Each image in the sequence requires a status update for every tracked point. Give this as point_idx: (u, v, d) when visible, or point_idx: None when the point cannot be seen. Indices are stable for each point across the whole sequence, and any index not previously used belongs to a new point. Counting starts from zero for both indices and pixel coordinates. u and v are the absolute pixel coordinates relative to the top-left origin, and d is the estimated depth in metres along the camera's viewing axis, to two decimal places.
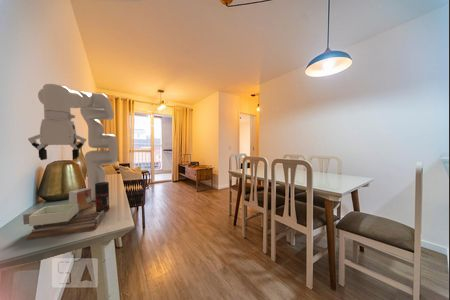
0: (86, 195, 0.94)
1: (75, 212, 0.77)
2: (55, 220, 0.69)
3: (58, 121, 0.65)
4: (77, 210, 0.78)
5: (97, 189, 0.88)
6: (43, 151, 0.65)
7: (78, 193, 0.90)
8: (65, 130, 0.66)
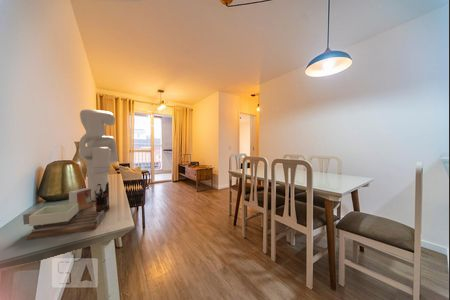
0: (86, 195, 0.94)
1: (75, 212, 0.77)
2: (55, 220, 0.69)
3: (107, 172, 0.92)
4: (77, 210, 0.78)
5: None
6: None
7: (78, 193, 0.90)
8: (108, 178, 0.94)
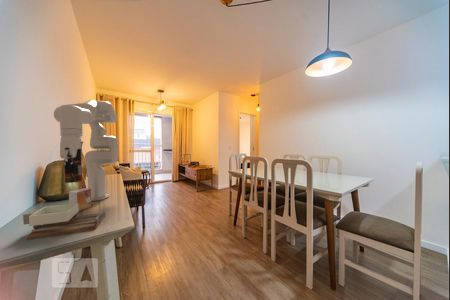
0: (86, 195, 0.94)
1: (75, 212, 0.77)
2: (55, 220, 0.69)
3: (79, 137, 0.78)
4: (77, 210, 0.78)
5: None
6: None
7: (78, 193, 0.90)
8: (81, 144, 0.80)
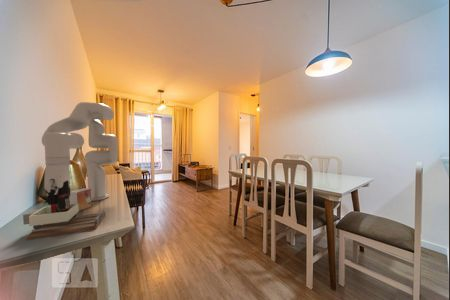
0: (86, 195, 0.94)
1: (75, 212, 0.77)
2: (55, 220, 0.69)
3: (66, 165, 0.74)
4: (77, 210, 0.78)
5: None
6: None
7: (78, 193, 0.90)
8: (68, 172, 0.76)
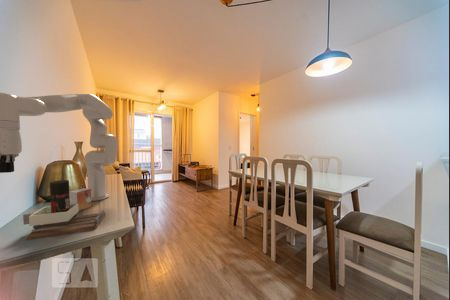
0: (86, 195, 0.94)
1: (75, 212, 0.77)
2: (55, 220, 0.69)
3: (15, 131, 0.67)
4: (77, 210, 0.78)
5: (52, 189, 0.70)
6: None
7: (78, 193, 0.90)
8: (19, 139, 0.69)
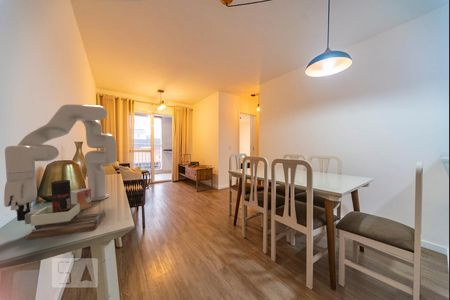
0: (86, 195, 0.94)
1: (76, 212, 0.77)
2: (56, 220, 0.69)
3: (31, 179, 0.70)
4: (78, 210, 0.79)
5: (53, 189, 0.70)
6: None
7: (78, 193, 0.90)
8: (34, 186, 0.72)
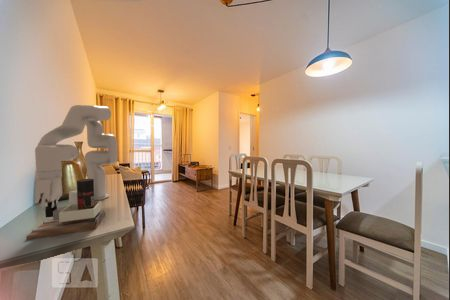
0: None
1: (99, 209, 0.80)
2: (82, 216, 0.72)
3: (58, 178, 0.73)
4: (100, 207, 0.82)
5: (79, 187, 0.73)
6: None
7: None
8: (60, 184, 0.75)
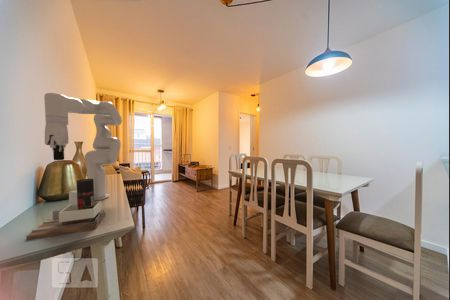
0: None
1: (99, 209, 0.80)
2: (82, 216, 0.72)
3: (65, 125, 0.80)
4: (100, 207, 0.82)
5: (79, 187, 0.73)
6: None
7: None
8: (67, 133, 0.82)
